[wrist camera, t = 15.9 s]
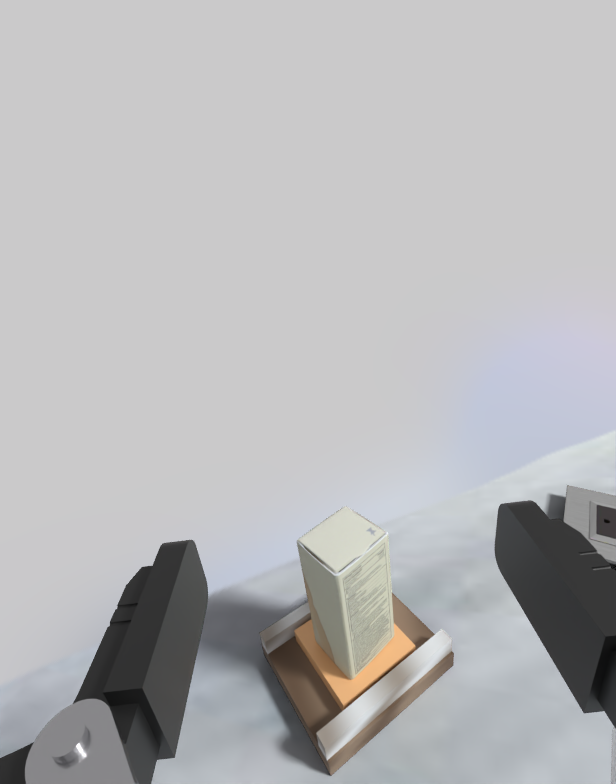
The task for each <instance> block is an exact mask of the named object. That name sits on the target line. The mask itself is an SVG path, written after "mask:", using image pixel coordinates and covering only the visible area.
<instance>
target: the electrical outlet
mask: <svg viewBox="0 0 616 784" xmlns="http://www.w3.org/2000/svg"><path fill="white" fill-rule="evenodd" d="M563 522H565V523H566V524H568V525H570V526H571V527H573V528H574V529H576V530H577V531H579V532H581V533H582V534H583V536H584V537H585V538H586V539H587V540H588V541H589V542H590V543H591V544H592V545H593V546H594V548H595V549H596V550H597V553H598V554H601V555H602V556H603V557H604V558H605V560H606V561H607V562H608V563H609V564H612V565H616V496H614V495H610V494H605V493H601V492H596V491H591V490H587V489H582V488H578V487H573V486H569V485H567V492H566V501H565V511H564V520H563Z"/></svg>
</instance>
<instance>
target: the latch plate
mask: <svg viewBox="0 0 616 784" xmlns="http://www.w3.org/2000/svg"><path fill="white" fill-rule="evenodd" d="M294 632H295V637H296V641H297V642H298V644H299V645H300V647H301V649H302V650H303V652H304V653H305V655H306V656H307V658H308V659H309V661H310V662H311V664H312V665H313V667H314V669H315V670H316V672H317V673H318V675H319V676H320V678H321V679H322V681H323V682H324V684H325V685H326V687H327V689H328V690H329V692H330V693H331V695H332V696H333V698H334V699H335V701H336V702H337V704H338V706H339V707H340V709H341V710H342V711H343V710H345V709H346V708H347V707H348V706H349V705H351V704H352V703H353V702H354V701H355V700H357V699H358V698H359V697H360V696H361V695H363V694H364V693H365V692H366V691H367V690H369V689H370V688H371V687H372V686H374V685H375V684H376V683H377V682H378V681H380V680H381V679H382V678H383V677H384V676H386V675H387V674H388V673H389V672H390V671H392V670H393V669H394V668H395V667H396V666H398V665H399V664H400V663H401V662H402V661H404V660H405V659H406V658H407V657H408V656H410V655H411V654H412V653H413V652H414V651H416V648H415V645H414V644H413V642H412V641H411V640H410V639H409V638H408V637H407V636H406V635H405V634H404V633H403V632H402V631H401V630H400V629H399V628H398V627H397V625H396V624H395V623H394V637H393V638H392V639H391V640H390V641H389V642H388V644H387V645H386V646H385V647H384V648H383V649H382V650H381V651H380V652H379V653H378V655H377V656H376V657H375V658H374V659H373V660H372V661H371V662H370V663H369V664H368V665H367V666H366V667H365V668H364V669H363V670H362V671H361V672H360V673H359V674H358V675H357V676H356V677H355V678H354V679H352V680H350V679H349V678H348V677H347V676H346V675H345V674H344V673H343V672H342V671H341V670H340V669H339V668H338V666H337V665H336V664H335V663H334V662H333V661H332V660H331V659H330V657H329V656H328V655H327V654H326V653H325V652H324V650H323V649H322V648H321V647H320V646H319V644H318V643H317V642H316V640H315V635H314V630H313V624H312V619H311V620H309V621H308V622H306V623H305V624H303V625H302V626H300V627H299V628H297V629H296V630H294Z"/></svg>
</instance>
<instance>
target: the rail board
mask: <svg viewBox="0 0 616 784" xmlns="http://www.w3.org/2000/svg"><path fill="white" fill-rule="evenodd" d="M392 605H393V620H394V623H395V624H396V625H397V627H398V628H399V629H400V630H401V631H402V632H403V633H404V634H405V635H406V636H407V637H408V638H409V639H410V640H411V641H412V642H413V644H414V645H415V648H416V651H414V652H413V653H412V654H411V655H410V656H408V657H407V658H406V659H405V660H404V661H402V662H401V663H400V664H399V665H398V666H396V667H395V668H394V669H393V670H392V671H390V672H389V673H388V674H387V675H386V676H384V677H383V678H382V679H381V680H380V681H378V682H377V683H376V684H375V685H374V686H372V687H371V688H370V689H369V690H367V691H366V692H365V693H364V694H363V695H361V696H360V697H359V698H358V699H357V700H355V701H354V702H353V703H352V704H351V705H349V706H348V707H347V708H346V709H345V710H343V711H342V710H341V709H340V707H339V706H338V704H337V702H336V701H335V699H334V698H333V696H332V695H331V693H330V692H329V690H328V689H327V687H326V685H325V684H324V682H323V681H322V679H321V678H320V676H319V675H318V673H317V672H316V670H315V669H314V667H313V665H312V664H311V662H310V661H309V659H308V658H307V656H306V655H305V653H304V652H303V650H302V649H301V647H300V645H299V644H298V642H297V641H296V637H295V632H294V630H296V629H297V628H299V627H300V626H302V625H303V624H305V623H306V622H308V621H309V620H311V614H310V608H309V603H308V602H307V603H305V604H303V605H302V606H300V607H299V608H297V609H296V610H294V611H293V612H291V613H289V614H288V615H286V616H285V617H283V618H282V619H280V620H279V621H277V622H276V623H274V624H272V625H271V626H269V627H268V628H266V629H265V630H263V631H262V632H260V637H261V641H262V647H263V651H264V655H265V657H266V658H267V660H268V662H269V664H270V666H271V667H272V669H273V671H274V673H275V675H276V677H277V678H278V680H279V682H280V684H281V686H282V688H283V689H284V691H285V693H286V695H287V697H288V698H289V700H290V702H291V704H292V706H293V708H294V709H295V711H296V713H297V715H298V717H299V719H300V720H301V722H302V724H303V726H304V728H305V729H306V731H307V733H308V735H309V737H310V739H311V740H312V742H313V744H314V746H315V748H316V749H317V751H318V753H319V755H320V757H321V759H322V760H323V762H324V764H325V766H326V768H327V770H328V771H329V773H330V775H332V774H334V773H335V772H336V771H337V770H338V769H339V768H340V767H341V766H342V765H344V764H345V763H346V762H347V761H348V760H349V759H350V758H351V757H352V756H353V755H355V754H356V753H357V752H358V751H359V750H360V749H361V748H362V747H363V746H364V745H366V744H367V743H368V742H369V741H370V740H371V739H372V738H373V737H374V736H376V735H377V734H378V733H379V732H380V731H381V730H382V729H383V728H384V727H385V726H387V725H388V724H389V723H390V722H391V721H392V720H393V719H394V718H395V717H397V716H398V715H399V714H400V713H401V712H402V711H403V710H404V709H405V708H406V707H408V706H409V705H410V704H411V703H412V702H413V701H414V700H415V699H416V698H417V697H419V696H420V695H421V694H422V693H423V692H424V691H425V690H426V689H427V688H429V687H430V686H431V685H432V684H433V683H434V682H435V681H436V680H437V679H438V678H440V677H441V676H442V675H443V674H444V673H445V672H446V671H447V670H448V669H450V668H451V667H452V666H453V657H454V653H453V652H452V638H451V637H450V636H449V635H448V634H447V633H446V632H445V631H444V630H443V629H441V630H440V631H439V632H437V633H436V634H434V633H433V632H432V631H431V630H430V629H429V628H428V627H427V626H426V625H425V624H423V623H422V622H421V621H420V620H419V619H418V618H417V617H416V616H415V615H414V614H413V613H412V612H411V611H410V610H409V609H408V608H407V607H406V606H405V605H404V604H403V603H402V602H401V601H400V600H399V599H398V598H397V597H396V596H395V595H394V594H393V593H392Z"/></svg>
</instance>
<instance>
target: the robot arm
mask: <svg viewBox="0 0 616 784" xmlns="http://www.w3.org/2000/svg"><path fill="white" fill-rule="evenodd" d="M495 557H496V561H497V564H498V567H499V569H500V572H501V574H502V575H503V577H504V579H505V580H506V582H507V584H508V585H509V587H510V589H511V591H512V592H513V594H514V596H515V597H516V599H517V601H518V602H519V604H520V606H521V607H522V609H523V611H524V613H525V614H526V616H527V618H528V619H529V621H530V623H531V624H532V626H533V628H534V630H535V631H536V633H537V635H538V636H539V638H540V640H541V641H542V643H543V645H544V646H545V648H546V650H547V652H548V653H549V655H550V657H551V658H552V660H553V662H554V663H555V665H556V667H557V668H558V670H559V672H560V674H561V675H562V677H563V679H564V680H565V682H566V684H567V685H568V687H569V689H570V690H571V692H572V694H573V696H574V697H575V699H576V701H577V702H578V704H579V706H580V707H581V709H582V711H583V712H584V713H591V712H600V711H605V713H606V714H607V716H608V717H609V719H610V721H611V722H612V724H613V725H614V728H613V732H612V761H611V784H616V570H615V569H612V568H611V565H610V564H609V563H608V562H607V561H606V560H605V558H604V557H603V556H602V555H601V554H598V553H597V550H596V549H595V548H594V546H593V545H592V544H591V543H590V542H589V541H588V540H587V539H586V538H585V537H584V536H583V534H582V533H581V532H579V531H577V530H576V529H574V528H573V527H571V526H570V525H568V524H566V523H565V522H563V521H562V520H560V519H552V520H550V519H549V518H548V517H547V515H546V514H545V513H544V512H543V511H542V510H541V508H540V507H539V506H538V505H537V504H536V503H535V502H533V501H522V502H513V503H505V504H501V505H500V506H499V509H498V518H497V528H496V538H495ZM207 602H208V587H207V581H206V577H205V574H204V571H203V568H202V564H201V561H200V558H199V555H198V551H197V548H196V545H195V543H194V541H193V540H186V541H178V542H170V543H164V544H162V545H161V547H160V549H159V551H158V554H157V556H156V559H155V561H154V564H153V566H147V567H142V568H141V569H140V570H139V571H138V572H137V574H136V575H135V576H134V577H133V578H132V579H131V580H130V582H129V583H128V584H127V585H126V588H125V589H124V592H123V594H122V596H121V599H120V601H119V603H118V608H117V609H116V610H115V612H114V614H113V616H112V619H111V621H110V626H109V627H108V628H107V630H106V632H105V635H104V637H103V639H102V641H101V644H100V646H99V648H98V650H97V653H96V655H95V657H94V659H93V662H92V664H91V666H90V668H89V671H88V673H87V675H86V677H85V680H84V682H83V684H82V686H81V689H80V691H79V693H78V695H77V697H76V699H75V701H74V703H73V704H72V705H70V706H68V707H67V708H65V709H63V710H62V711H61V712H59V713H58V714H57V715H56V716H55V717H54V718H53V719H52V720H50V721H49V723H48V724H47V725H46V726H45V727H44V728H43V730H42V731H41V732H40V734H39V735H38V736H37V738H36V740H35V741H34V742H33V743H31V744H30V745H28V746H26V747H24V748H22V749H19V750H17V751H15V752H13V753H11V754H9V755H6V756H4V757H2V758H0V784H151V781H152V777H153V773H154V769H155V765H156V761H157V760H159V759H167V758H175V754H176V749H177V744H178V740H179V735H180V730H181V725H182V721H183V716H184V711H185V707H186V702H187V697H188V693H189V688H190V683H191V679H192V674H193V669H194V665H195V660H196V655H197V651H198V646H199V641H200V637H201V632H202V627H203V622H204V618H205V613H206V608H207Z"/></svg>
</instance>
